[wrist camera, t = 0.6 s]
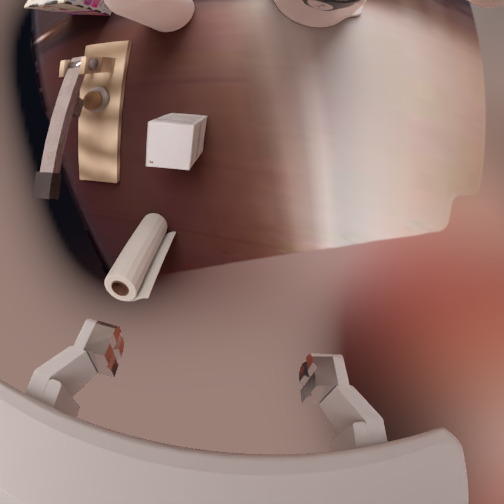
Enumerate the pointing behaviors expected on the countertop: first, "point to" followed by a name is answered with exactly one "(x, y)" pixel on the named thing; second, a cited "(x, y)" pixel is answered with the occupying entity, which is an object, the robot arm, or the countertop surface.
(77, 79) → the lever
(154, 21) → the alcohol
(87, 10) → the candy bar box
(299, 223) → the countertop surface
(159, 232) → the paper towel roll
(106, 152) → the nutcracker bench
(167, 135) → the supplement box
